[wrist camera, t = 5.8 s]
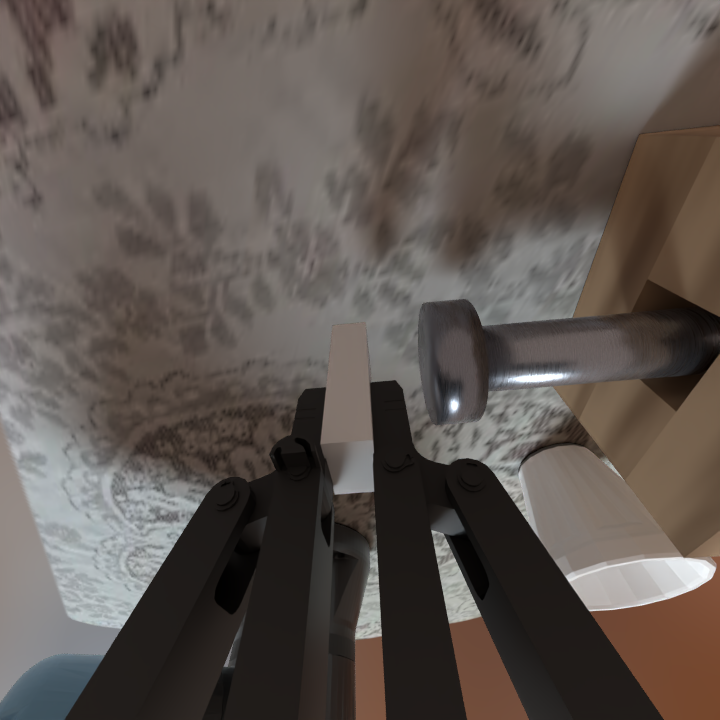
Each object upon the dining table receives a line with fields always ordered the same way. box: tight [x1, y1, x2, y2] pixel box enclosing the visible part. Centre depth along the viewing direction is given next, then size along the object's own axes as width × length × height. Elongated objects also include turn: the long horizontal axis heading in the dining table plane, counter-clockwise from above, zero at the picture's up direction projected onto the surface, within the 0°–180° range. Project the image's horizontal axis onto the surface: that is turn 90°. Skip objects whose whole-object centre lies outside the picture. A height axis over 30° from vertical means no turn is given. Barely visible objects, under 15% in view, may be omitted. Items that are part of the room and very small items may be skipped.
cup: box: [518, 443, 716, 611], centre depth 24 cm, size 10×10×9 cm
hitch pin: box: [418, 299, 720, 425], centre depth 13 cm, size 15×5×5 cm, turn 95°
